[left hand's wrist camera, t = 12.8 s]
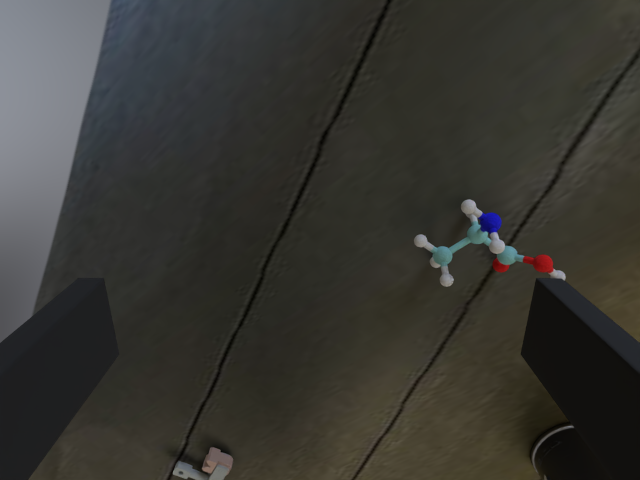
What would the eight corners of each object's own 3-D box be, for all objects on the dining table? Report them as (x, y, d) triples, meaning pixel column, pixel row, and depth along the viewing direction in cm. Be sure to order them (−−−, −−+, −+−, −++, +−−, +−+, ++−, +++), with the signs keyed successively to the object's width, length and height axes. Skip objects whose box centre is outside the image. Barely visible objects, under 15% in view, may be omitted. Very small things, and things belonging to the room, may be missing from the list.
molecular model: (428, 322, 42) (478, 318, 33) (396, 233, 44) (435, 205, 34) (524, 288, 45) (598, 275, 35) (490, 205, 46) (553, 171, 36)
